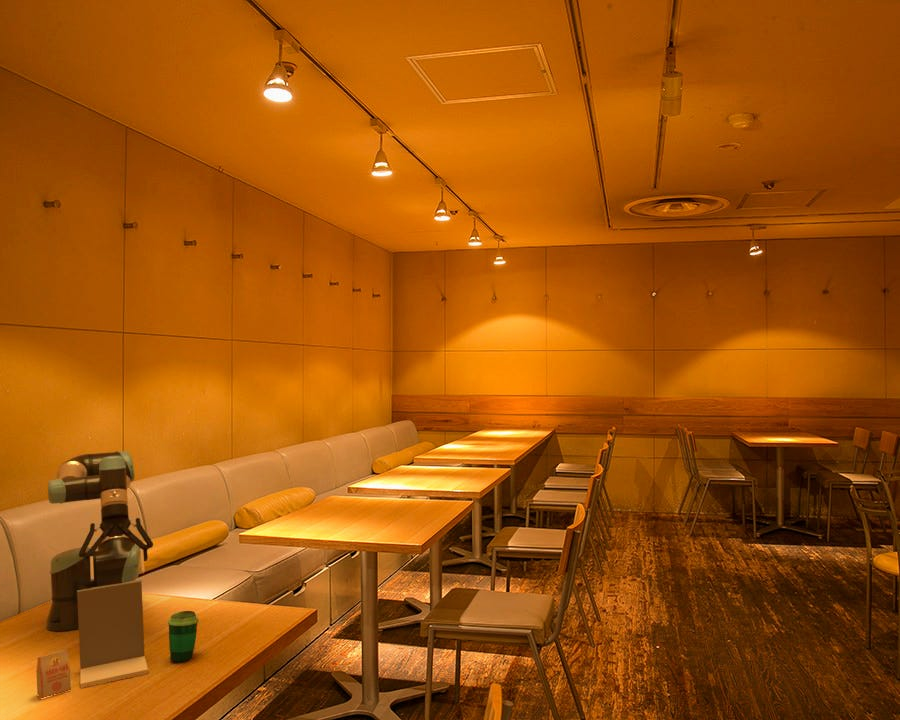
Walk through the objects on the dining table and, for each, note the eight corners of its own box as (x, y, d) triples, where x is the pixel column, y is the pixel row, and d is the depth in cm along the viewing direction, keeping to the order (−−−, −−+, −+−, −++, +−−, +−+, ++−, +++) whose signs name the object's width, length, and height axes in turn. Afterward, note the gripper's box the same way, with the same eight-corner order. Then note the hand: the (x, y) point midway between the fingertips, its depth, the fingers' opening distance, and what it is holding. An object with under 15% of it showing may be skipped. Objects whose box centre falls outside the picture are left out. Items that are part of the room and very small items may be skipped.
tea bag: (37, 695, 184) (35, 655, 184) (66, 686, 189) (64, 647, 189) (41, 699, 181) (39, 659, 181) (70, 690, 186) (69, 651, 186)
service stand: (80, 670, 198) (77, 590, 198) (144, 657, 205) (140, 579, 205) (80, 688, 187) (77, 602, 187) (148, 673, 194) (144, 591, 194)
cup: (163, 660, 203) (161, 617, 203) (188, 649, 210) (186, 608, 210) (180, 666, 198) (178, 622, 198) (206, 655, 205) (204, 612, 205)
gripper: (68, 507, 215) (70, 580, 206) (159, 497, 226) (164, 566, 218) (68, 514, 221) (70, 585, 212) (157, 504, 232) (162, 571, 224)
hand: (117, 576), depth 215 cm, fingers open, 13 cm apart
